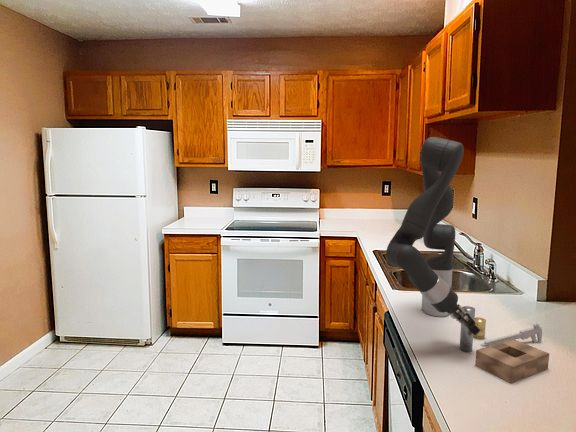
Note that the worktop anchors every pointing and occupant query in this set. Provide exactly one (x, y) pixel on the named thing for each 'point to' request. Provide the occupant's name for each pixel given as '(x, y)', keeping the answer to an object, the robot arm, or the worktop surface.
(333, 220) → the worktop surface
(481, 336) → the short pin
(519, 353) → the hole block
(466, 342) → the long pin
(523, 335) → the caliper
